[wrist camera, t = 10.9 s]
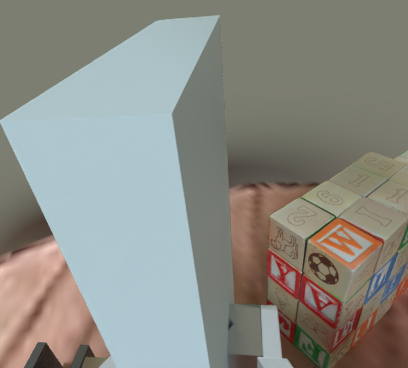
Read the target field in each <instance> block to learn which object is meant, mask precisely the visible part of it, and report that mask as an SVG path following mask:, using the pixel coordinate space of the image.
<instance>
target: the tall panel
mask: <svg viewBox="0 0 408 368" xmlns="http://www.w3.org/2000/svg"><path fill="white" fill-rule="evenodd" d="M222 65H223V64H222V45H221V25H220V15H217V16H205V17H193V18H181V19H169V20H158V21H156V22H154V23H153V24H151V25H150V26H148V27H146V28H145V29H143V30H142V31H140V32H139V33H137V34H136V35H134V36H132V37H131V38H129V39H128V40H126V41H124V42H123V43H121V44H120V45H118V46H117V47H115V48H113V49H112V50H110V51H109V52H107V53H105V54H104V55H103V56H101V57H99V58H98V59H96V60H95V61H93V62H91V63H90V64H88V65H87V66H85V67H84V68H82V69H80V70H79V71H77V72H76V73H74V74H72V75H71V76H69V77H68V78H66V79H65V80H63V81H61V82H60V83H58V84H57V85H55V86H53V87H52V88H50V89H49V90H47V91H46V92H44V93H43V94H41V95H39V96H38V97H36V98H35V99H33V100H31V101H30V102H28V103H27V104H25V105H24V106H22V107H20V108H19V109H17V110H16V111H14V112H13V113H11V114H9V115H8V116H6V117H5V118H3V119H2V120H0V123H1V125H2V127H3V129H4V132H5V134H6V136H7V138H8V140H9V142H10V144H11V146H12V148H13V151H14V152H15V155H16V157H17V159H18V161H19V163H20V165H21V167H22V169H23V172H24V174H25V176H26V178H27V180H28V182H29V184H30V186H31V188H32V191H33V193H34V195H35V197H36V199H37V201H38V203H39V205H40V207H41V210H42V212H43V214H44V216H45V218H46V220H47V222H48V224H49V226H50V228H51V230H52V232H53V235H54V237H55V239H56V241H57V243H58V245H59V247H60V250H61V252H62V254H63V256H64V258H65V260H66V262H67V264H68V266H69V269H70V271H71V273H72V275H73V277H74V279H75V281H76V283H77V285H78V287H79V290H80V292H81V294H82V296H83V298H84V300H85V302H86V304H87V306H88V309H89V311H90V313H91V315H92V317H93V319H94V321H95V323H96V325H97V327H98V330H99V332H100V334H101V336H102V338H103V340H104V342H105V344H106V346H107V349H108V351H109V353H110V355H111V357H112V359H113V361H114V363H115V365H116V367H117V368H229V366H228V358H227V346H228V330H229V329H230V327H229V306H230V304H235V299H234V280H233V260H232V241H231V221H230V201H229V182H228V162H227V142H226V123H225V105H224V84H223V66H222Z"/></svg>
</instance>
